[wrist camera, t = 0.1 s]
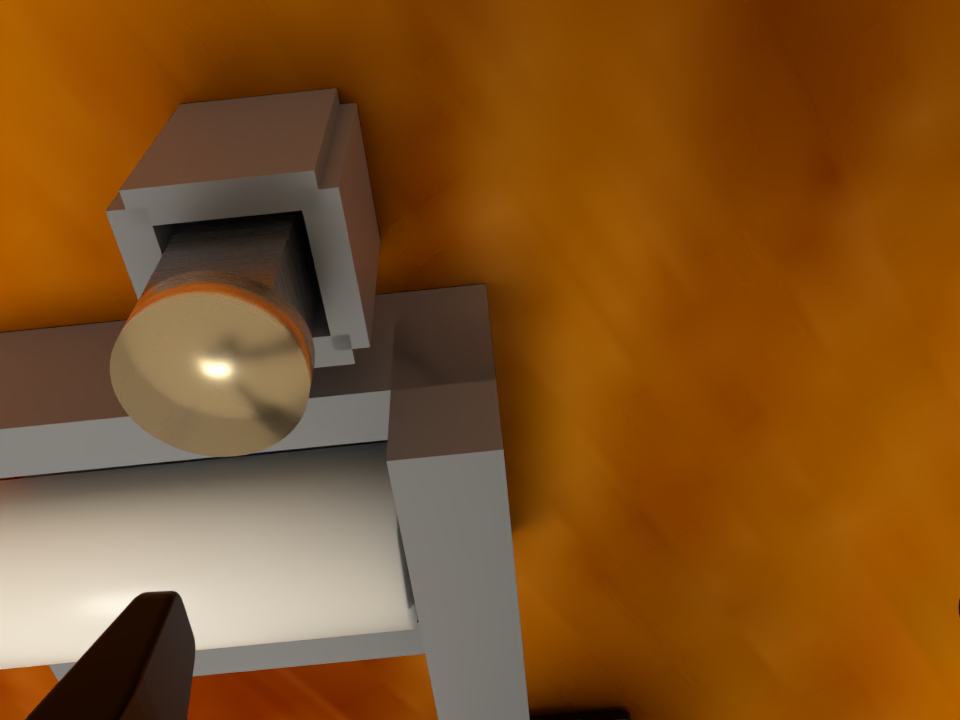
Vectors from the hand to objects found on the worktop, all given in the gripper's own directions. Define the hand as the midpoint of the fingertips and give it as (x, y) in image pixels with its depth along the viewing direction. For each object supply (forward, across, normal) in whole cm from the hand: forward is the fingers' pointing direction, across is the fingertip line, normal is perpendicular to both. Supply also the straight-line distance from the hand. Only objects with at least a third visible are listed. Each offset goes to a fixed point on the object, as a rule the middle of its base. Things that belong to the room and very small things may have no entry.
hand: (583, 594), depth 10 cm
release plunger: (+12, +6, +1) cm, 14 cm away
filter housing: (+14, +7, +7) cm, 18 cm away
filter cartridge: (+13, +12, +10) cm, 20 cm away
